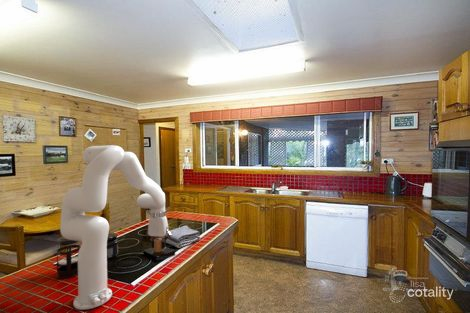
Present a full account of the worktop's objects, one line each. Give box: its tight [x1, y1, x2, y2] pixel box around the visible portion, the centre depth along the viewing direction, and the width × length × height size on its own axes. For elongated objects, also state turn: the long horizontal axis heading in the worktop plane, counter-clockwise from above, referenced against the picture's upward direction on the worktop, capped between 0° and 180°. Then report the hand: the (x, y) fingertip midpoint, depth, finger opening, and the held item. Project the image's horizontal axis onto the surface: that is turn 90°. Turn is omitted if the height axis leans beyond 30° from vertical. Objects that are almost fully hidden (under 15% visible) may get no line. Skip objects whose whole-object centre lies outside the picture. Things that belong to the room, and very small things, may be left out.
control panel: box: [142, 246, 176, 263], centre depth 131 cm, size 14×11×3 cm
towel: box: [166, 225, 201, 249], centre depth 150 cm, size 15×18×8 cm
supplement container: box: [107, 232, 119, 262], centre depth 128 cm, size 10×10×12 cm
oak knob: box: [154, 237, 164, 252], centre depth 131 cm, size 5×5×6 cm
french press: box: [56, 236, 82, 280], centre depth 111 cm, size 12×9×23 cm
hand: (158, 247), depth 131 cm, fingers closed on oak knob, 5 cm apart
